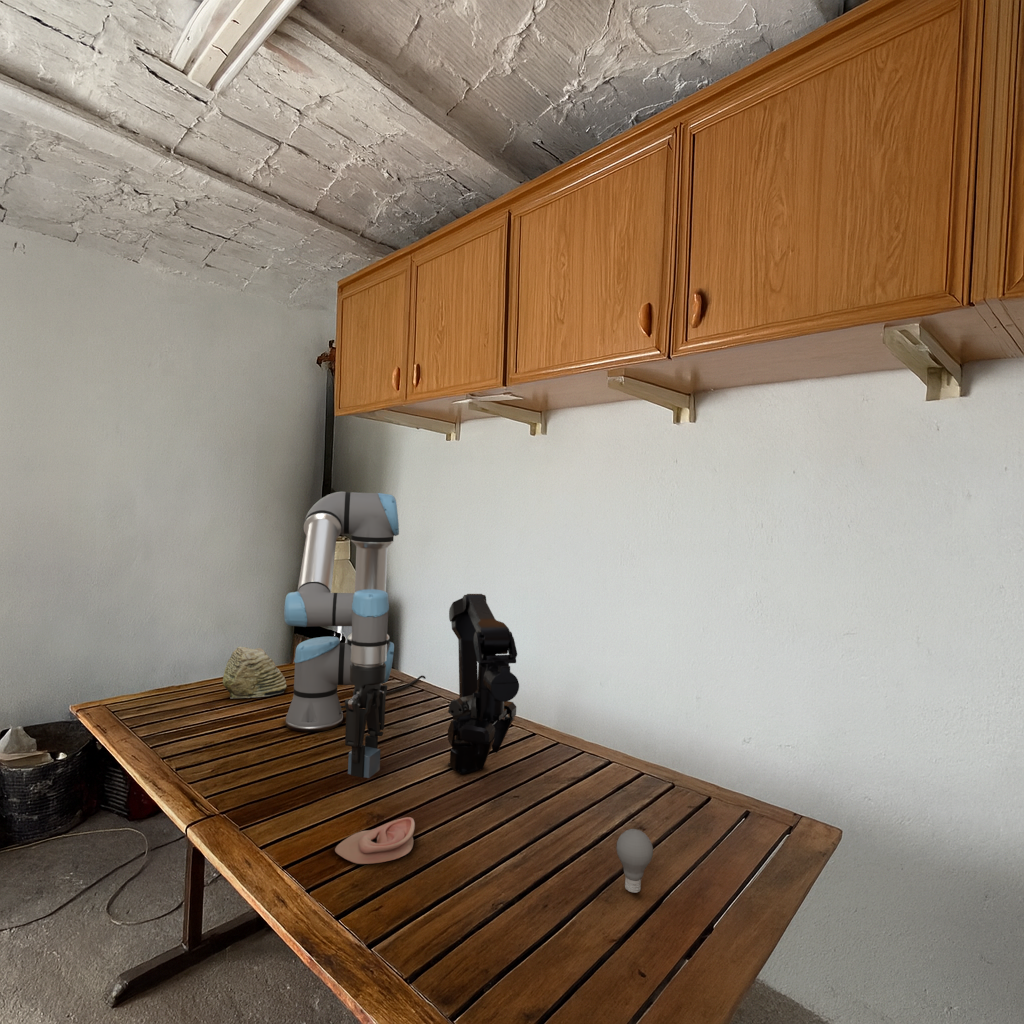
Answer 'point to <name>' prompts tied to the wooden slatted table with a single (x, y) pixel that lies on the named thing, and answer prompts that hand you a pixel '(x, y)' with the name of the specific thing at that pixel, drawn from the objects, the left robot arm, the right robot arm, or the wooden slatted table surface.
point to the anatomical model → (379, 843)
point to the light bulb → (634, 857)
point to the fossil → (252, 674)
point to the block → (368, 762)
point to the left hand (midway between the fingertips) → (364, 770)
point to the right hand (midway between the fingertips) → (487, 760)
